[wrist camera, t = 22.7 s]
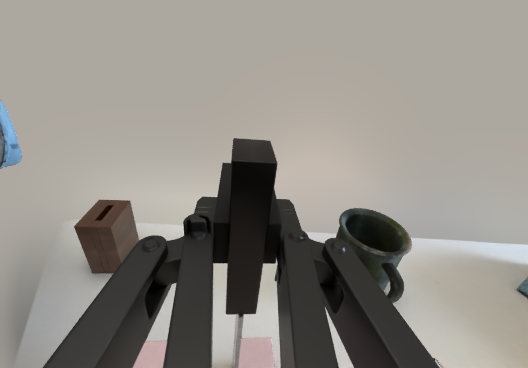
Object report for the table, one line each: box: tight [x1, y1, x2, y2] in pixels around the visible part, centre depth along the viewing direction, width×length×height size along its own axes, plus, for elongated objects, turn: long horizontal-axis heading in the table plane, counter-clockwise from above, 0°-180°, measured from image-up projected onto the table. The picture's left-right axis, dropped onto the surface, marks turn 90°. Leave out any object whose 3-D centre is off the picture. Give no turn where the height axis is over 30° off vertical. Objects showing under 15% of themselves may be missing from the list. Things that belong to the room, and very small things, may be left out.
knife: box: [226, 138, 277, 368], centre depth 16 cm, size 2×3×23 cm, turn 5°
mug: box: [336, 208, 412, 303], centre depth 39 cm, size 11×15×12 cm
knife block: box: [74, 200, 139, 273], centre depth 40 cm, size 5×7×10 cm
